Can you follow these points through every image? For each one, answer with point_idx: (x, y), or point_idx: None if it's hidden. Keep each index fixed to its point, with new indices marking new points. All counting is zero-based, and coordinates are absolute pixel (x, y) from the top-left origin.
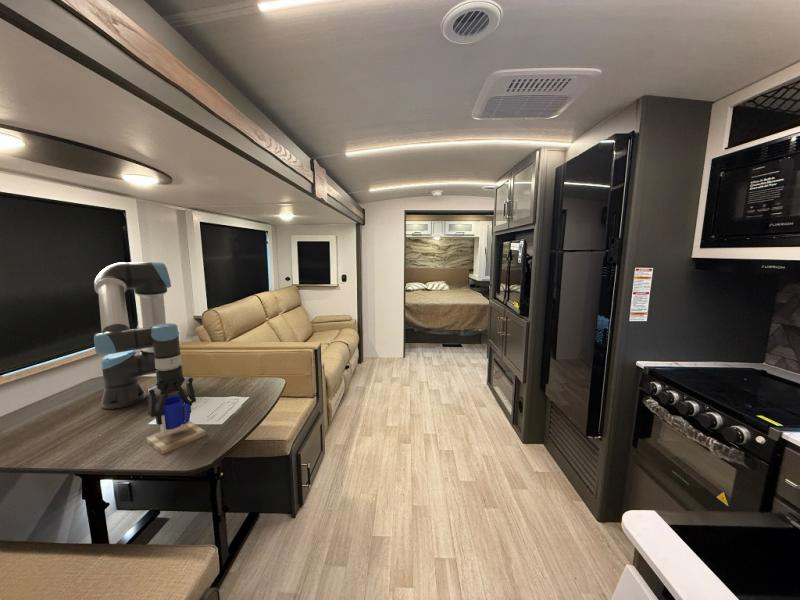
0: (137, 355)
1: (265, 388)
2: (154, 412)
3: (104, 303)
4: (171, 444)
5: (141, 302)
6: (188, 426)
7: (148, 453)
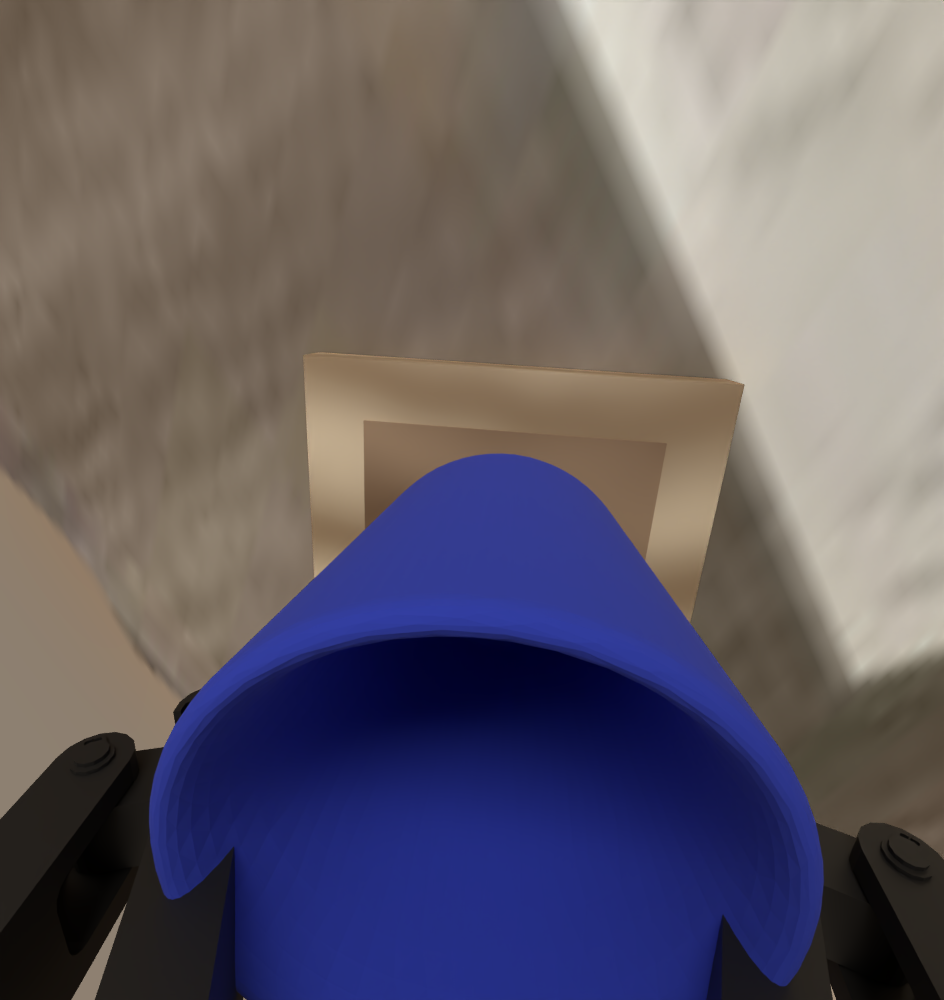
0: None
1: None
2: (101, 918)
3: None
4: None
5: None
6: (646, 533)
7: (274, 575)
